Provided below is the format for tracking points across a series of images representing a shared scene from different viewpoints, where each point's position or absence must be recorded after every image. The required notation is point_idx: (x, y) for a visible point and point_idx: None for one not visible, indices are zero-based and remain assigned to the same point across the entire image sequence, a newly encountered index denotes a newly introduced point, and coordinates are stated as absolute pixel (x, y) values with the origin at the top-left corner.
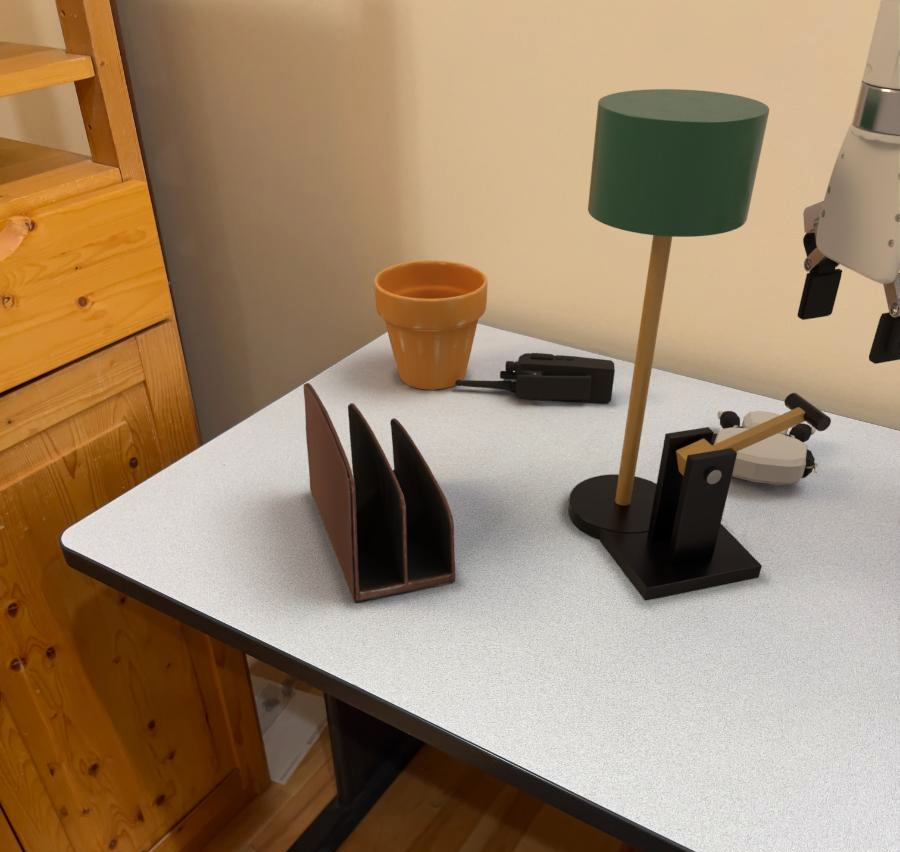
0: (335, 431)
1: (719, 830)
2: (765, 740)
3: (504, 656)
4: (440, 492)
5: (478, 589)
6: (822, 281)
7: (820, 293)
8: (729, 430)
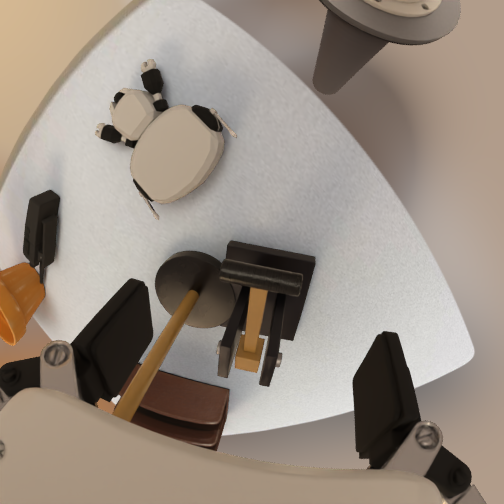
0: None
1: (419, 378)
2: (410, 344)
3: (291, 397)
4: (200, 423)
5: (238, 384)
6: (114, 374)
7: (127, 352)
8: (135, 167)
